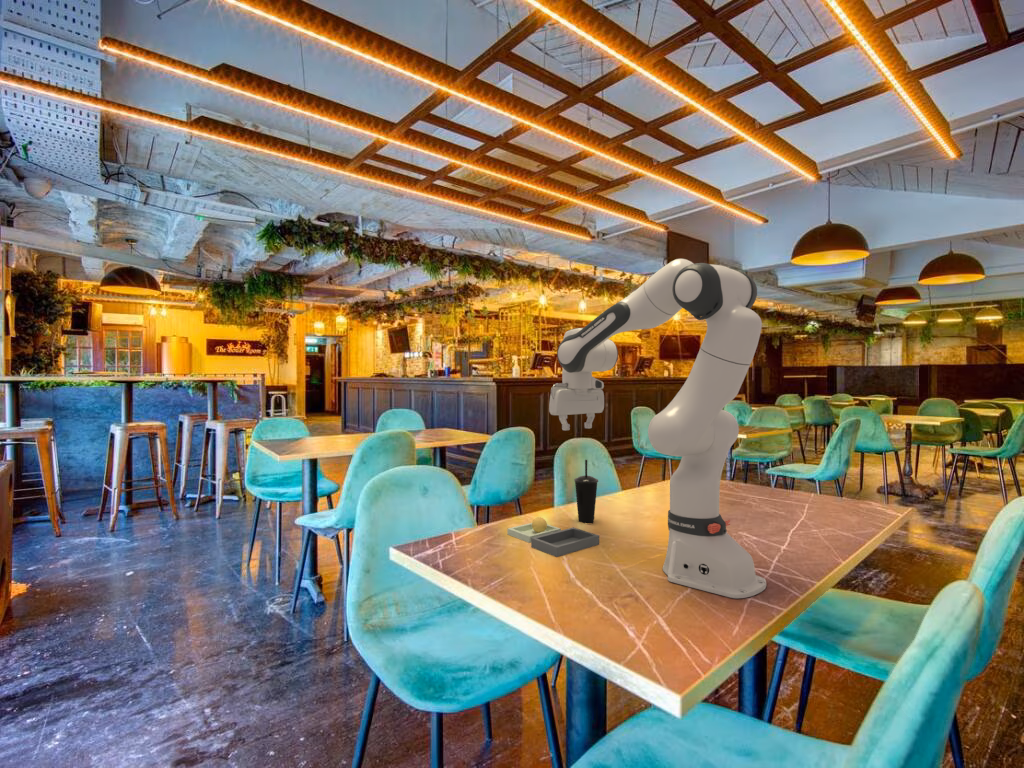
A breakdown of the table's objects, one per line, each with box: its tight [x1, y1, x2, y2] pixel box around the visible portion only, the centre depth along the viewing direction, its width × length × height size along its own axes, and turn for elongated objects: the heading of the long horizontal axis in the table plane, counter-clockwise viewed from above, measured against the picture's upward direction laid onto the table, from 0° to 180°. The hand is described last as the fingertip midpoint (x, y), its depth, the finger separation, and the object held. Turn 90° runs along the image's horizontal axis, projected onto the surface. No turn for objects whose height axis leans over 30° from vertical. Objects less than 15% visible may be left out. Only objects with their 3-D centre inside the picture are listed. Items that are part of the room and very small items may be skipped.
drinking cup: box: [573, 459, 599, 524], centre depth 165 cm, size 8×8×20 cm
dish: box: [530, 526, 600, 558], centre depth 139 cm, size 10×16×3 cm, turn 129°
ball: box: [531, 516, 548, 533], centre depth 151 cm, size 4×4×4 cm
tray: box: [506, 522, 562, 544], centre depth 150 cm, size 10×12×2 cm
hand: (577, 429), depth 154 cm, fingers open, 8 cm apart
